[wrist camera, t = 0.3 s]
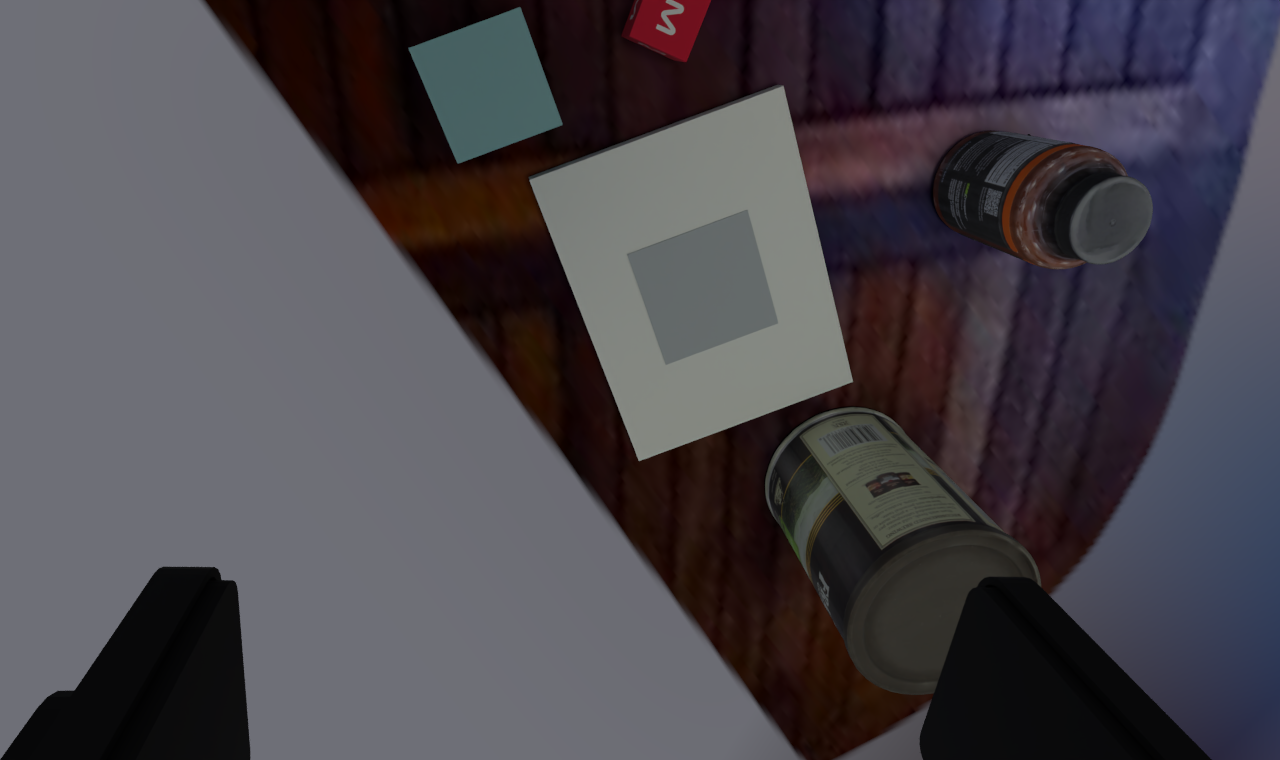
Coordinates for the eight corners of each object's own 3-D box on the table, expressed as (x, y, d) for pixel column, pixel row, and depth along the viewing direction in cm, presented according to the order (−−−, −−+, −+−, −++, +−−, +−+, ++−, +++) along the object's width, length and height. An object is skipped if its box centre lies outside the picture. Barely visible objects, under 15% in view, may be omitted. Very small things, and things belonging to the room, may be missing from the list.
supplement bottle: (1037, 201, 46) (1187, 247, 36) (946, 251, 47) (1069, 311, 36) (1009, 107, 44) (1161, 129, 33) (914, 161, 44) (1035, 199, 34)
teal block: (423, 47, 38) (408, 48, 33) (519, 11, 38) (520, 7, 33) (465, 147, 40) (457, 163, 35) (555, 113, 40) (562, 124, 35)
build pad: (528, 176, 41) (529, 180, 40) (777, 84, 41) (783, 86, 40) (636, 453, 49) (639, 461, 48) (846, 375, 49) (853, 382, 48)
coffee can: (817, 566, 55) (911, 727, 42) (734, 473, 51) (809, 619, 38) (939, 478, 53) (1075, 616, 40) (863, 374, 49) (987, 492, 36)
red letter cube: (674, 60, 40) (686, 62, 38) (620, 36, 39) (629, 36, 37) (697, 1, 39) (711, -2, 37) (643, -26, 38) (653, -30, 36)
